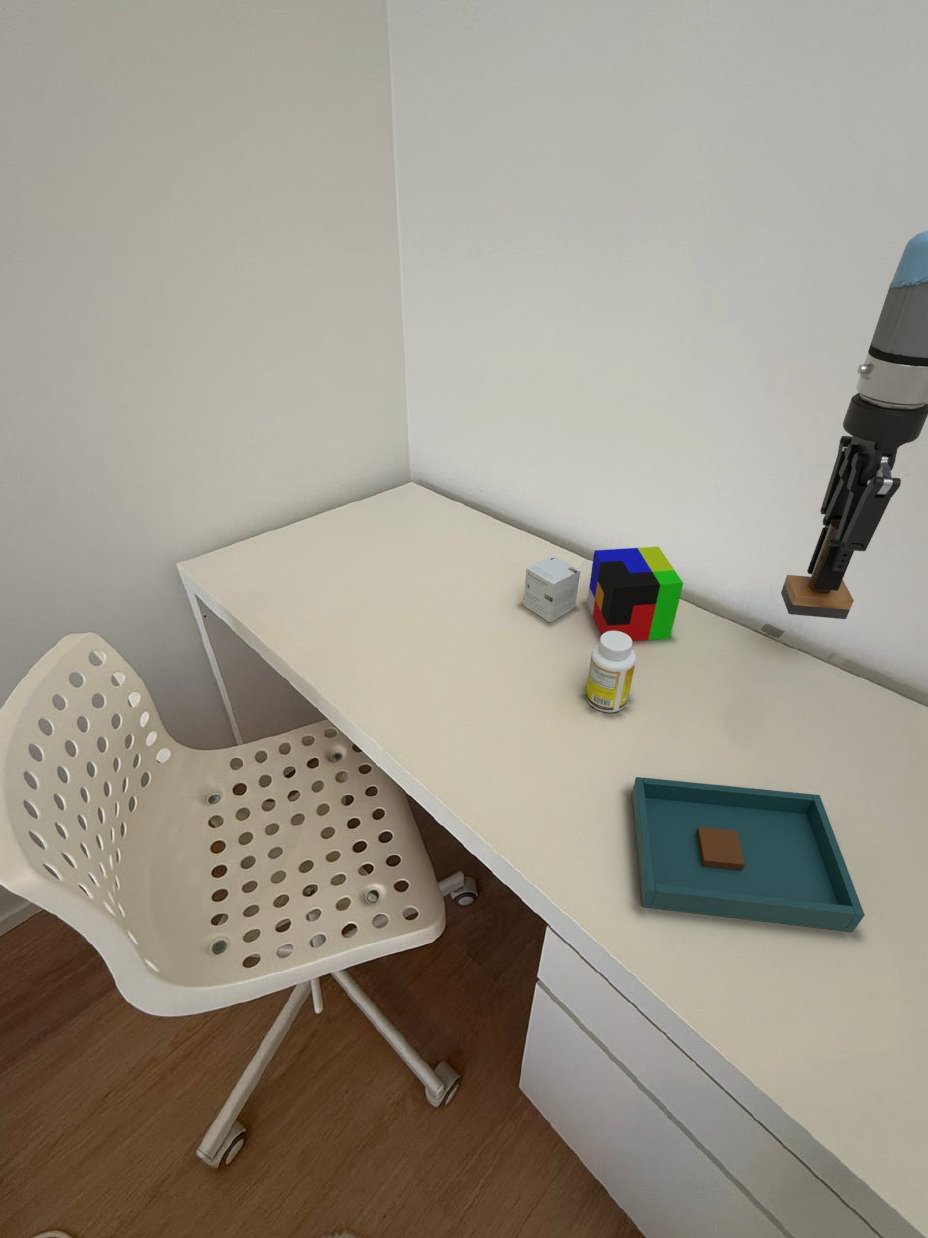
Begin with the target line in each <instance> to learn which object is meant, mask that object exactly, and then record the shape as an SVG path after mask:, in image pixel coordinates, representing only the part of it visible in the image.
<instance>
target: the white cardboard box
mask: <svg viewBox="0 0 928 1238" xmlns="http://www.w3.org/2000/svg"><path fill="white" fill-rule="evenodd" d="M525 568H526V569H525V580H524V590H523V591H524V592H523V603H522V604H523V607H525V608H527V609H528V610H529V611H531V612H533V613H535V614H536V615H537V616H539V617H540V618H541V619H543V620H545V621H546V622H547V623H552V622H553V621H555V620H557V619H559V618H560V617H562V616H564V615H565V614H567V613H569V612H571V611H572V610H574V609H575V608H576V604H577V597H578V596H577V595H578V591H579V583H580V577H581V570H580V569H578V568H576V567H574V566H573V565H571V564H570V563H568V562H567V561H564V560H562V559H560V558H558V557H557V556H555V555H550V556H548V557H546V558H543V559H541V560H540V561H538V562H535V563H533V564H531V565H529V566H527V567H525Z"/></svg>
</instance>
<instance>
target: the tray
mask: <svg viewBox="0 0 928 1238" xmlns="http://www.w3.org/2000/svg"><path fill="white" fill-rule="evenodd" d="M631 802H632V803H631V805H632V813H633V815H632V816H633V823H634V824H633V825H634V833H635V834H634V835H635V845H636V847H635V848H636V854H637V856H636V857H637V867H638V878H639V888H640V898H641V907H642V908H648V909H649V908H650V909H657V910H665V911H673V912H682V913H689V914H691V913H692V914H699V915H706V916H707V915H708V916H716V917H724V918H732V919H740V920H748V921H749V920H750V921H758V922H766V923H775V924H781V925H782V924H783V925H791V926H798V927H807V928H817V929H824V930H832V931H841V932H848V933H850V932H851V933H853V932H854V931H855V930H856V928H858V925H860V923H861V921H862V920H863V919H864V917H865V916H866V915H865V912H864V910H863V907H862V904H861V902H860V899H859V896H858V894H857V891H856V888H855V885H854V882H853V880H852V878H851V875H850V872H849V869H848V866H847V864H846V861H845V859H844V857H843V854H842V851H841V848H840V845H839V842H838V840H837V837H836V835H835V832H834V829H833V827H832V824H831V821H830V819H829V816H828V814H827V813H828V812H827V811H826V808H825V805H824V803H823V800H822V798H821V795H820V794H811V793H805V792H804V793H803V792H795V791H794V792H792V791H784V790H783V791H782V790H772V789H762V788H752V787H743V786H740V787H739V786H731V785H723V784H714V783H702V782H692V781H683V780H671V779H661V778H653V777H652V778H651V777H641V776H635V779H634V782H633V786H632V792H631ZM698 827H706V828H715V829H724V830H734V831H737V833H738V838H739V842H740V846H741V850H742V854H743V859H744V863H745V866H744V868H743V870H742V871H737V870H728V869H719V868H710V867H702V865H701V859H700V853H699V848H698V842H697V837H696V832H697V829H698Z"/></svg>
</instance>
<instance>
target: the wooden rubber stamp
mask: <svg viewBox="0 0 928 1238" xmlns="http://www.w3.org/2000/svg"><path fill="white" fill-rule="evenodd" d="M840 522H841V521H833V522H831V523H830V526H829V529H828V531H827V534H826V537H825V539H824V542H823V545H822V548H821V550H820V553H819V556H818V558H817V561H816V564H815V567H814V569H813V572H812V574H810V576H809V575H808V576H807V575H794V574H787V575H786V577H785V580H784V583H783V586H782V589H781V591H780V594H781V597H782V601H783V602H784V605H785V607H786V610H787V613H788V615H793V616H794V615H795V616H805V617H815V618H816V617H817V618H827V619H837V620H847V617H848V615H849V613H850V610H851V608H852V607H853V603H854V601H855V600H854V599H853V597H852V594H851V592H850V590H849V588H848V587H847V585H846V582H845V581H844V579H843V580H842V582H841V585H840V587H839V589H838V591H835V590H823V589H815V587H814V584H815V581H816V578H817V576H818V573H819V570H820V568H821V565H822V562H823V560H824V557H825V554H826V552H827V549H828V540H835V538H836V535H837V532H838V529H839V525H840Z"/></svg>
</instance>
